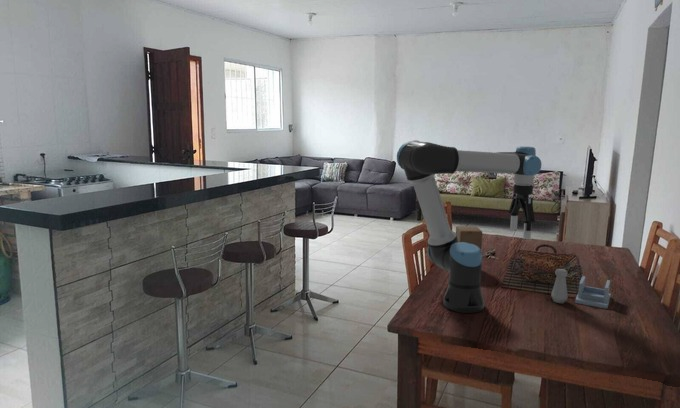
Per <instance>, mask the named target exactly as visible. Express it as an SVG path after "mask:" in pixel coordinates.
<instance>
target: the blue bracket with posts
mask: <svg viewBox="0 0 680 408" xmlns="http://www.w3.org/2000/svg"><path fill="white" fill-rule="evenodd" d="M585 284H586V276H584V275H581V279H580V281H579V284H578V293H577V295H576V297H575V301H574V303H575V304H579V305H586V306H588V307H589V306H591V307H595V308H599V309H600V308H601V309H604V310H605V309H606V310H608V307H609V304H610V300H611V297H612V296H611V293H610V284H611V280H610V279H607V280H606V282H605V286H604V288H600V287H594V286H587V285H585Z"/></svg>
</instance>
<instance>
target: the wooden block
mask: <svg viewBox="0 0 680 408" xmlns="http://www.w3.org/2000/svg"><path fill="white" fill-rule="evenodd" d="M455 233H456V235H457V239H458V242H465V243H469V244H474V245H476V246H477V247H479V248H480V249H481V250H482V247H483V245H482V243H483V230H481V229H480V228H479V227H478V226H476V225H475V226H473V225H472V226H471V225H469V226H468V225H467V226H465V225H463V226H461V225H458V226H455Z"/></svg>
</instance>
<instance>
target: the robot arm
mask: <svg viewBox="0 0 680 408" xmlns="http://www.w3.org/2000/svg"><path fill="white" fill-rule="evenodd" d="M515 149H516V150H515V151H497V152H491V151H475V150H473V151H472V150H462V149H461V150H459V149H457V148H456V147H454V146H447V145H446V146H445V145H441V144H437V143H433V142H429V141H420V140H409V141H406V142H404V143H403V144H402V145H400V147H399V149H398V150H397V153H396V162H397V165H398V166H399V167H400V168H401V169H402V170H404V174H405V176H406V179H407V181H408V182H410V183H412V185H413V188H414V191H415V194H416V197H417V201H418V204H419V206H420V209H421V213H422V216H423V219H424V222H425V225H426V228H427V232H428V234H429V237H428V239H427V244H428V246H427V248H426V252H427V253H426V254H427V257H428V259H429V260H430V261H431V262H432V263H433V264H434V265H435V266H437V267H439V268H441V269H443V270H444V271H446V272H448V286H447V289H446V291H445V294H444V296H443V300H442V301H443V303H442V304H443V306H444V307H445V308H446V309H448V310H450V311H453V312H457V313H461V314H462V313H463V314H474V313H480V312H482V311H483V310H484V309H485V300H484V296H483V292H482V289H481V288H482V287H481V280H482V268H483V267H482V266H483V265H482V263H483V253H482V251H483V250H482V248H481V249H480V248H479V247H477V246H476V245H474V244H469V243H465V242H458V239H457V235H456V231H453V230H452V229H451V226H450V224H449V220H448V217H447V213H446V210H445V207H444V204H443V203H444V202H443V201H442V200H443V199H442V198H441V194H440V191H439V187H438V184H437V181H436V177H435V175H442V174H443V175H445V174H446V175H447V174H448V175H451V174H452V175H453V174H455V173H456V172H466V173H468V172H469V173H485V174H486V173H487V174H489V173H490V174H511V175H514V176H513V177H514V178H513V183H514V185H513V190H512V191H513V194H512V199H511V203H510V206H509V208H508V209H509V210H508V213H510V224H509V225H510V226H509V227H510V229H509V230H510V231H511V232H513V231H514V232H515V231H516V232H517V231H518V218H519V212H520V209H521V210H522V213H523V217H524V221H523V234H522V235H523V236H522V239H525V240H526V239H528V240H529V239H531V235H532V224H533V223H535V222H536V221H535V218H536V217H535V213H534V205H533V204H534V202H533V201H534V200H533V199H534V198H532V197H531V198H530V195H533V194H534V193H533V191H534V179H535V176H536V175H538V174H539V173H540V171H541V169H542V160H541V159H540V157H539V156H537V155H536V153H537V151H536V148H535V147H534V146H517V147H516V148H515Z"/></svg>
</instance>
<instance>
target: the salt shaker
mask: <svg viewBox="0 0 680 408" xmlns="http://www.w3.org/2000/svg"><path fill="white" fill-rule="evenodd" d="M554 274H555V276H556V278H555V281H554V284H553V287H552V290H551V294H550V295H551V296H550V297H551V298H552V301H553V303H556V304H562V305H563V304H564V303H566V301H567V300H568V296H569V295H568V287H567V279H566V277H567V276H568V274H569V273H568V271H567V270H566V269H565V268H556V269H555V271H554Z"/></svg>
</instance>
